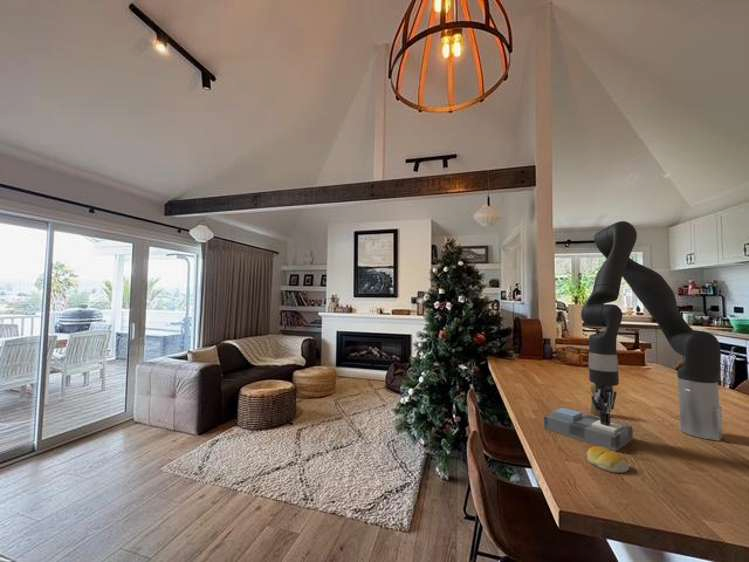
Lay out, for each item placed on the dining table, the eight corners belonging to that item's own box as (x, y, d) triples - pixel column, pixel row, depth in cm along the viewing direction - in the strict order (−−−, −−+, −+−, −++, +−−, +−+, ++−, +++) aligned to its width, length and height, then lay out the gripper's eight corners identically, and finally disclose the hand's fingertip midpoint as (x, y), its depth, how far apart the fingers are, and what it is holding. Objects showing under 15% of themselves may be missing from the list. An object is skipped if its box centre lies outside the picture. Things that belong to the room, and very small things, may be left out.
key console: (632, 439, 99) (632, 426, 99) (615, 451, 91) (614, 437, 91) (564, 419, 115) (564, 408, 115) (544, 428, 107) (544, 416, 107)
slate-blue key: (581, 420, 107) (581, 412, 107) (573, 424, 103) (573, 416, 104) (562, 414, 112) (562, 407, 112) (554, 418, 108) (554, 410, 109)
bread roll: (603, 455, 89) (602, 440, 89) (635, 471, 80) (634, 455, 81) (578, 458, 87) (577, 443, 88) (609, 475, 79) (608, 459, 79)
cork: (613, 417, 117) (611, 387, 118) (594, 416, 118) (593, 386, 119) (604, 412, 123) (603, 383, 124) (587, 411, 124) (586, 382, 125)
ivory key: (622, 434, 98) (621, 425, 98) (614, 438, 94) (614, 430, 94) (599, 427, 103) (599, 419, 103) (591, 432, 99) (591, 423, 99)
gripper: (608, 372, 93) (611, 433, 92) (625, 367, 101) (628, 423, 99) (580, 368, 99) (582, 425, 98) (598, 363, 107) (600, 416, 106)
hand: (605, 424), depth 99 cm, fingers closed
